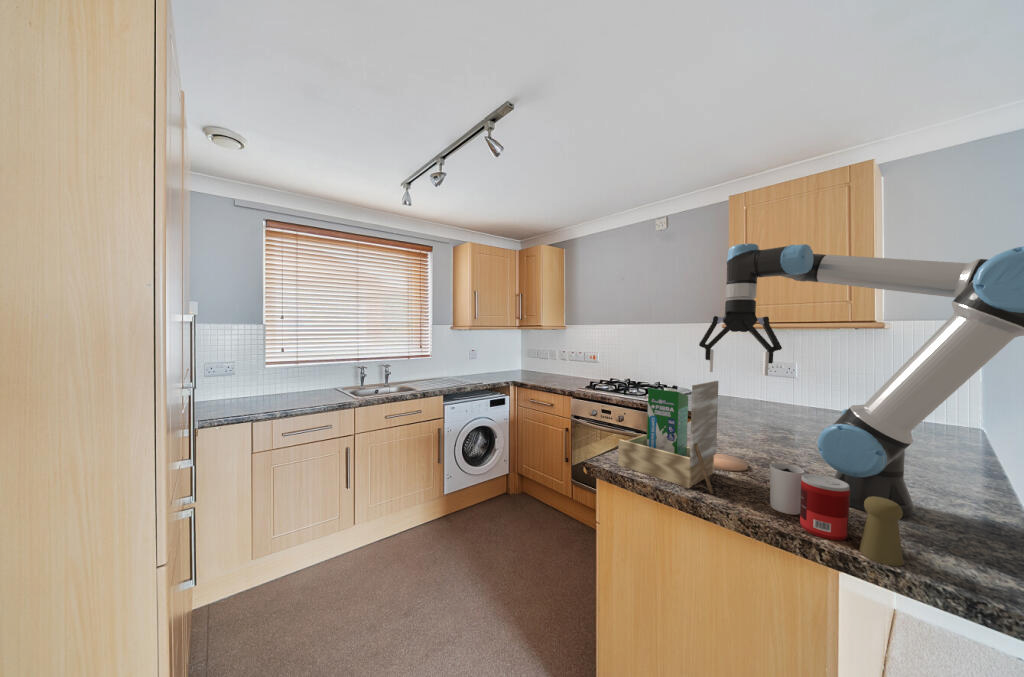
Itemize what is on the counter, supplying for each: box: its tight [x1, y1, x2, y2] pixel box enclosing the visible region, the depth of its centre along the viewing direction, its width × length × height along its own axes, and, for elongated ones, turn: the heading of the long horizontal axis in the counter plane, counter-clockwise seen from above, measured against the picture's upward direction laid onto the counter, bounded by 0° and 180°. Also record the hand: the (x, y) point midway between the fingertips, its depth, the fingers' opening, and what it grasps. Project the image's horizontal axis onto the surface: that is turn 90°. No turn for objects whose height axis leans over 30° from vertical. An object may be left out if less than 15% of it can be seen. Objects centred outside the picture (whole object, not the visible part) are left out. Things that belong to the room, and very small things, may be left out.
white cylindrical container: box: [769, 462, 805, 515], centre depth 89 cm, size 7×7×10 cm
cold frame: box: [617, 380, 720, 495], centre depth 111 cm, size 28×17×28 cm, turn 41°
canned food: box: [799, 473, 850, 541], centre depth 79 cm, size 8×8×11 cm
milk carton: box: [646, 387, 689, 457], centre depth 114 cm, size 9×9×25 cm
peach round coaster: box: [714, 452, 749, 472], centre depth 120 cm, size 13×13×1 cm
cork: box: [858, 496, 905, 567], centre depth 70 cm, size 6×6×11 cm
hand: (737, 373), depth 107 cm, fingers open, 13 cm apart
